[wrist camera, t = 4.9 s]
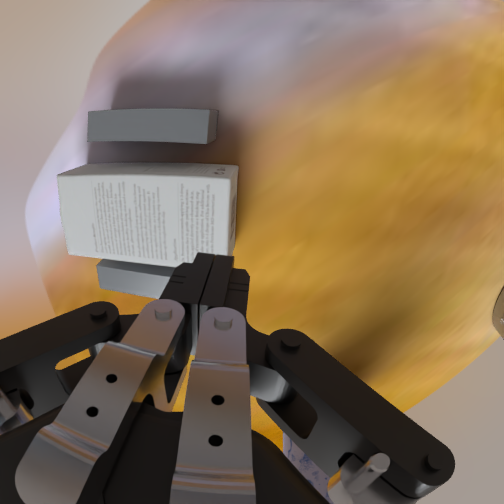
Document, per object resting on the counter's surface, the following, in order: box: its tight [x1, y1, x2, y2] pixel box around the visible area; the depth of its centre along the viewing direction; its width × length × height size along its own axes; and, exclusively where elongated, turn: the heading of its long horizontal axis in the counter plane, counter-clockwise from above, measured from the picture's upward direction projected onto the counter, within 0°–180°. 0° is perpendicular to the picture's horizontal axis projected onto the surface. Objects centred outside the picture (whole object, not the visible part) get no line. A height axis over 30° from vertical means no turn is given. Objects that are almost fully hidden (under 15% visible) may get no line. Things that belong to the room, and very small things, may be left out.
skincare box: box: [57, 162, 239, 267], centre depth 19 cm, size 6×4×12 cm
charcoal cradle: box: [87, 108, 218, 299], centre depth 19 cm, size 8×13×3 cm, turn 174°
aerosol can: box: [283, 432, 334, 504], centre depth 20 cm, size 8×8×20 cm
